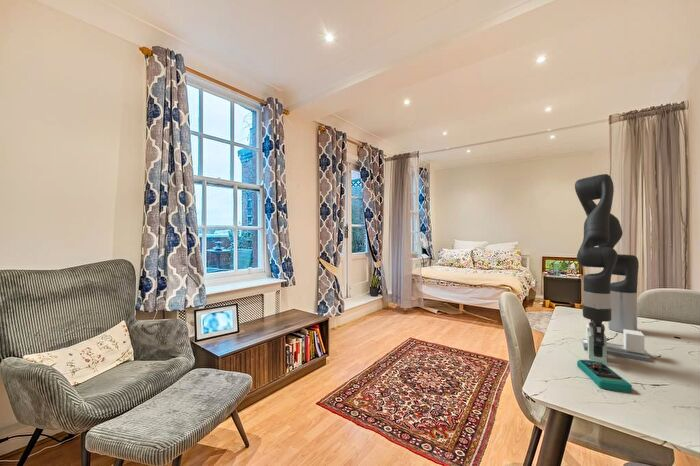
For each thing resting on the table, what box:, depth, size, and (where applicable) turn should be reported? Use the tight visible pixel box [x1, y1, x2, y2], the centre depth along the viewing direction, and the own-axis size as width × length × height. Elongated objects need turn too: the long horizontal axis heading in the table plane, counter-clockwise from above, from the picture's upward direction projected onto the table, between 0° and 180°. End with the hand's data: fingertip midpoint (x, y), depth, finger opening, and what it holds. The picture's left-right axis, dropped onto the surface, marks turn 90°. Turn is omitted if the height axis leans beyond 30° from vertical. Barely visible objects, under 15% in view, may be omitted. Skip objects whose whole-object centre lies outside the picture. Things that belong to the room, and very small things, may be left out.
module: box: [587, 331, 608, 364], centre depth 99 cm, size 6×4×8 cm
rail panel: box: [582, 323, 651, 363], centre depth 105 cm, size 10×17×8 cm, turn 54°
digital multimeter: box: [576, 359, 633, 393], centre depth 86 cm, size 7×15×3 cm, turn 163°
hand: (596, 352), depth 99 cm, fingers open, 8 cm apart
